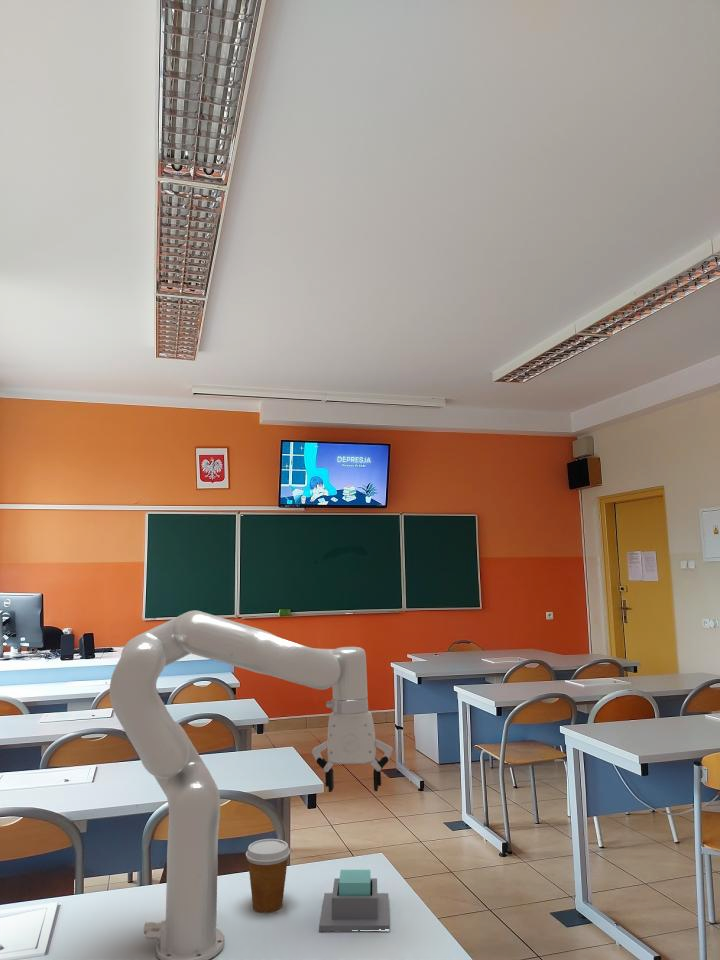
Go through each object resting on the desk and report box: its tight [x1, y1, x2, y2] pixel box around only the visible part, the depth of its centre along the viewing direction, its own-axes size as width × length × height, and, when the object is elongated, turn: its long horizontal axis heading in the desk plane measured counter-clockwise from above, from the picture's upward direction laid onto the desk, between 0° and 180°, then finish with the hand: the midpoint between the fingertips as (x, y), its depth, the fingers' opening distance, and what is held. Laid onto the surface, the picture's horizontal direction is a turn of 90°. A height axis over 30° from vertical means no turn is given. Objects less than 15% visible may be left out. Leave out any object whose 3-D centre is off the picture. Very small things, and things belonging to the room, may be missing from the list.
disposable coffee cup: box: [245, 838, 291, 914], centre depth 147 cm, size 10×10×12 cm
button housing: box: [318, 877, 391, 933], centre depth 142 cm, size 14×14×5 cm
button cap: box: [339, 869, 372, 896], centre depth 142 cm, size 6×6×4 cm
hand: (353, 789), depth 144 cm, fingers open, 9 cm apart
